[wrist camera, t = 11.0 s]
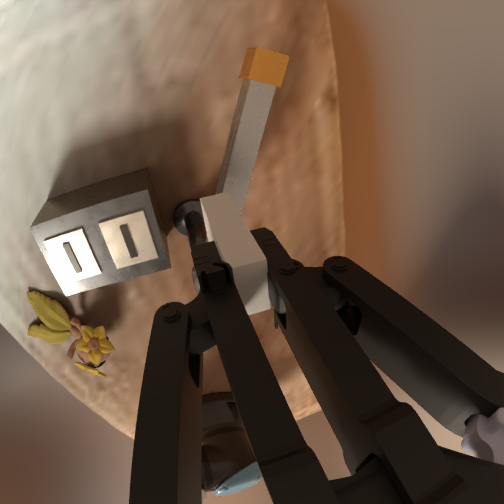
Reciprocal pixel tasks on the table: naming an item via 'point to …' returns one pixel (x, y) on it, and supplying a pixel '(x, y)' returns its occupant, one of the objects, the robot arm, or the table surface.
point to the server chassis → (103, 233)
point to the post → (191, 221)
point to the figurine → (56, 320)
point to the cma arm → (248, 124)
